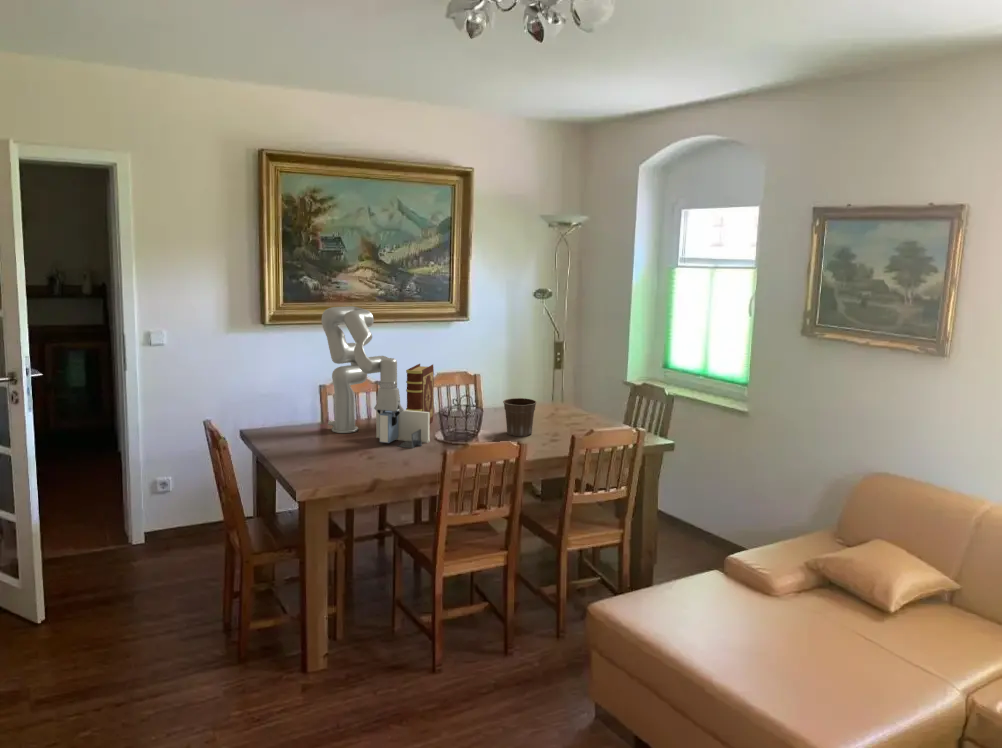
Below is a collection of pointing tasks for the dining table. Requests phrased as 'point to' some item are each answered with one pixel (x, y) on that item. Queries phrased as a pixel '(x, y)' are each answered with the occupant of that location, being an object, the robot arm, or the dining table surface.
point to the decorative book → (420, 389)
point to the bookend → (413, 440)
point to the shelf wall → (410, 425)
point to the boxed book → (387, 427)
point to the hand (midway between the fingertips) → (388, 424)
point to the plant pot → (519, 416)
